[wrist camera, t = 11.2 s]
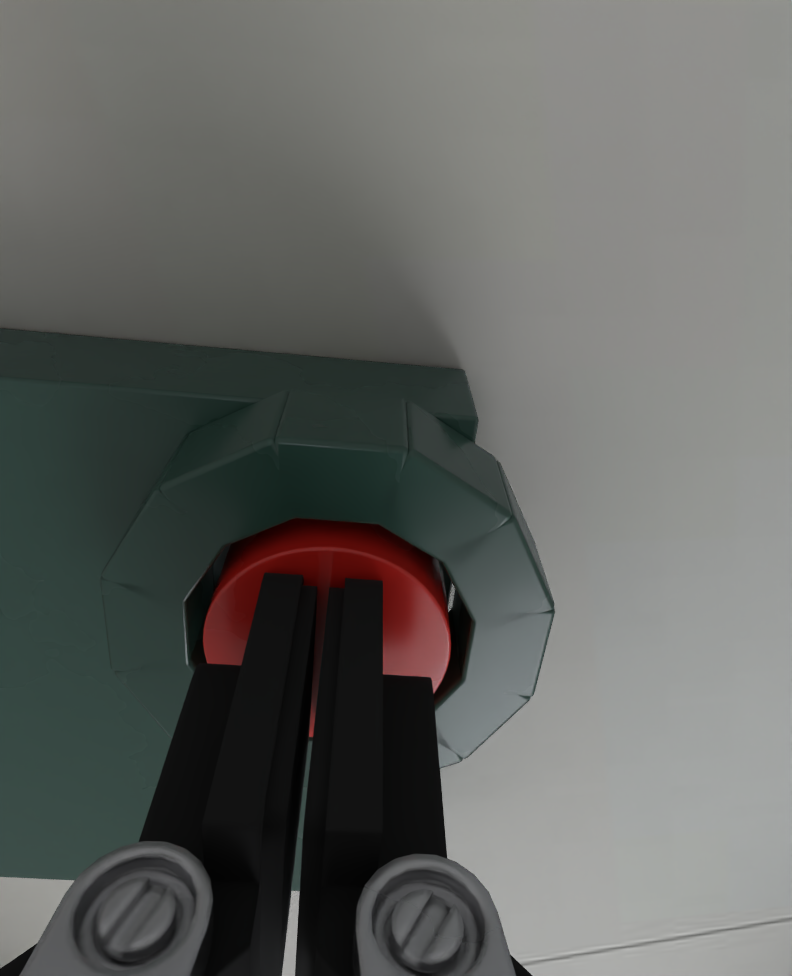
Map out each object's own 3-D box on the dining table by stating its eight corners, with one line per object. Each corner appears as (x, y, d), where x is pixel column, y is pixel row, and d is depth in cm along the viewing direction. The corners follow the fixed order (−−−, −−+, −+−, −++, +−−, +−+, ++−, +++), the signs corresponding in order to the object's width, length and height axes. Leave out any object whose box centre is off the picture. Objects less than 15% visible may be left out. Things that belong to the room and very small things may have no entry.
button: (223, 476, 11) (197, 538, 10) (457, 494, 11) (468, 558, 10) (227, 655, 13) (206, 732, 11) (429, 668, 13) (435, 746, 12)
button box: (-122, 302, 12) (-327, 388, 9) (538, 361, 13) (594, 464, 9) (-1, 791, 18) (-94, 961, 15) (447, 815, 19) (461, 984, 15)
